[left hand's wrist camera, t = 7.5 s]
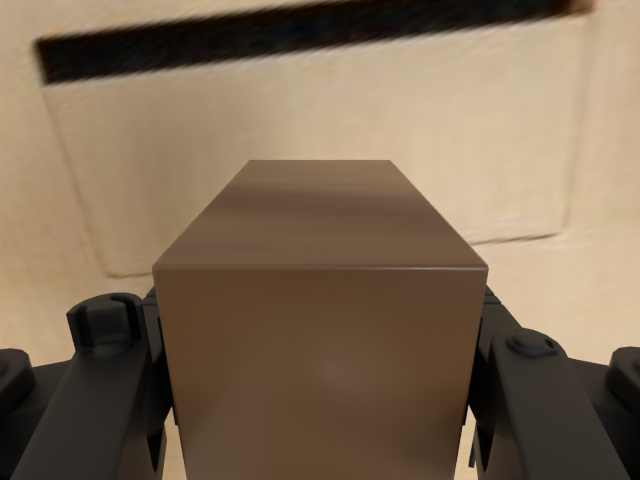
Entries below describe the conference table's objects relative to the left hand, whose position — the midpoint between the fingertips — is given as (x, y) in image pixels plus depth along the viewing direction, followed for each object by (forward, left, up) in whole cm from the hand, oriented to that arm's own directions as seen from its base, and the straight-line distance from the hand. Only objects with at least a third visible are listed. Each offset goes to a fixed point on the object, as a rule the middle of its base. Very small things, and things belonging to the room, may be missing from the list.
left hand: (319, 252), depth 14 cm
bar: (+7, +4, -1) cm, 8 cm away
